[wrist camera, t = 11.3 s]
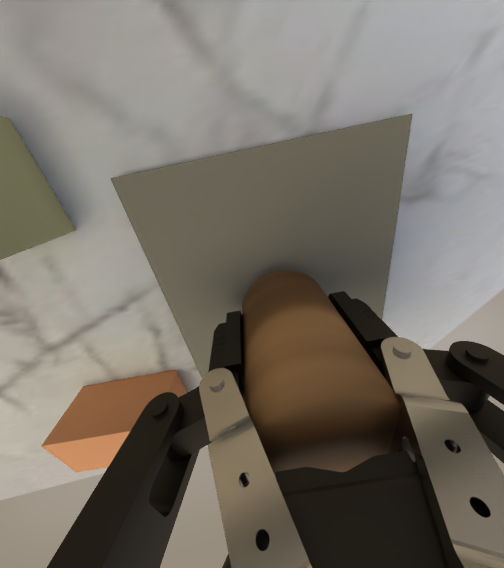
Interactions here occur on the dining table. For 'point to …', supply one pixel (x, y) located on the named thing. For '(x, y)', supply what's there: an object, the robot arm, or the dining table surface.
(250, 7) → the dining table surface
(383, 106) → the dining table surface
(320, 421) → the walnut cylinder
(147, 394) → the terracotta brick
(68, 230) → the sage cube
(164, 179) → the slate mat
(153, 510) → the robot arm
